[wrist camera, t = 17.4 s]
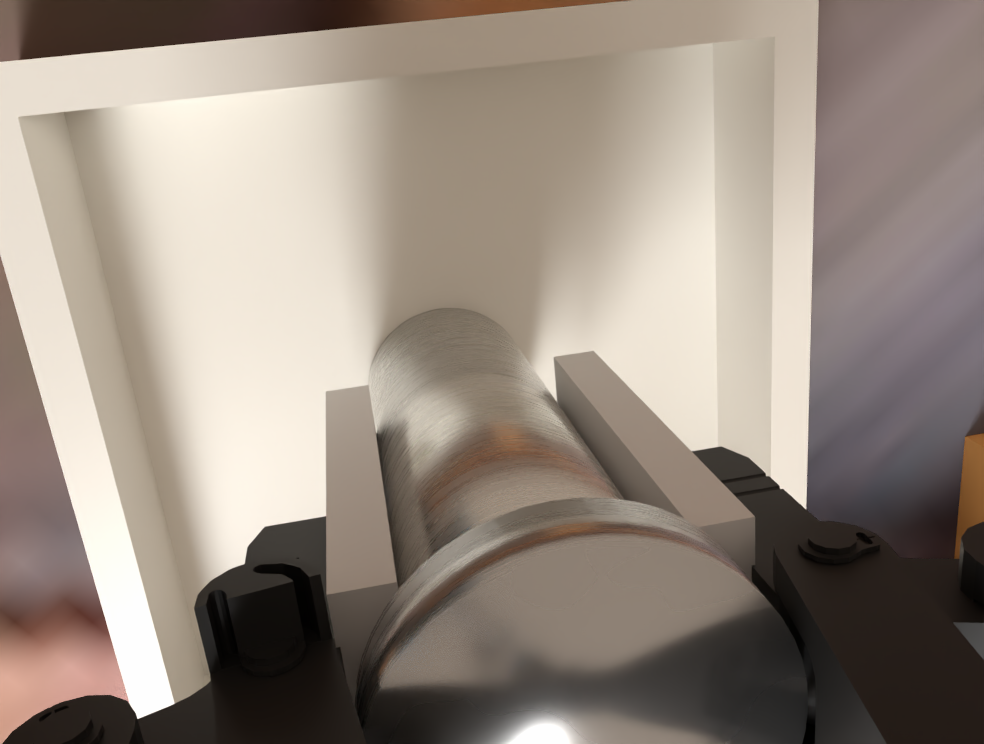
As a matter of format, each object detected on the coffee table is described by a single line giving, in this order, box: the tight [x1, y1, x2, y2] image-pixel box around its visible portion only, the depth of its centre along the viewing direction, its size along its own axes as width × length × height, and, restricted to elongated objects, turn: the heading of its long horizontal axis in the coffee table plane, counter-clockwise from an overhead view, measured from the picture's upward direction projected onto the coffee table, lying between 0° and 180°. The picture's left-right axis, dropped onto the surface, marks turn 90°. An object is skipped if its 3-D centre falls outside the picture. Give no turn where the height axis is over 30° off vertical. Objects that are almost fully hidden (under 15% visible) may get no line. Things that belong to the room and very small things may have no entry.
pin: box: [355, 308, 808, 744], centre depth 14 cm, size 5×5×11 cm
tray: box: [0, 0, 819, 719], centre depth 18 cm, size 14×14×3 cm
